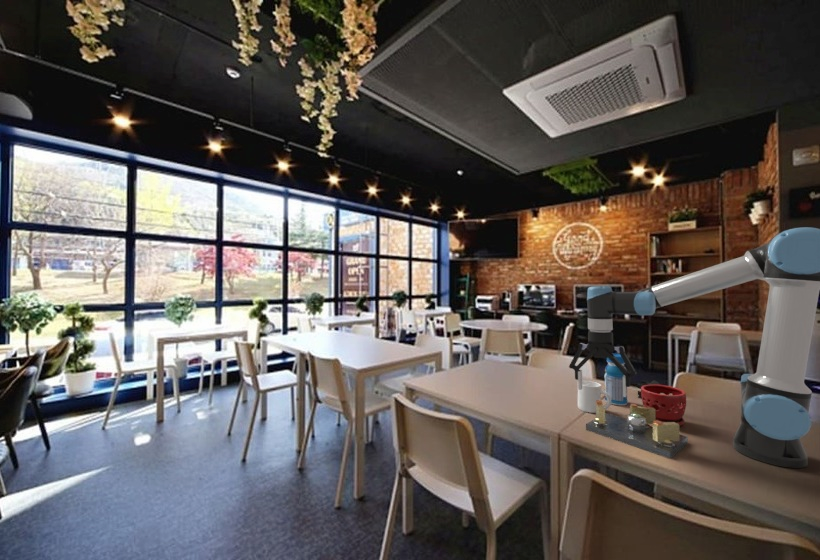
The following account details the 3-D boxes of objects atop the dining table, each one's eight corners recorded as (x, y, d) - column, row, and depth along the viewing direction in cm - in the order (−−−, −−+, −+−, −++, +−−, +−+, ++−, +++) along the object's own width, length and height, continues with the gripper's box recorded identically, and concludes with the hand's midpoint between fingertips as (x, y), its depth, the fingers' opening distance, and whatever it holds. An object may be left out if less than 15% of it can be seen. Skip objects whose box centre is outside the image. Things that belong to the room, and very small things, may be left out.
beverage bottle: (611, 406, 140) (611, 357, 140) (600, 398, 149) (600, 352, 149) (632, 406, 140) (632, 357, 140) (620, 399, 149) (620, 352, 149)
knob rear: (652, 423, 117) (652, 405, 117) (656, 427, 114) (656, 408, 114) (629, 421, 120) (629, 402, 120) (632, 424, 117) (632, 406, 117)
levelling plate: (688, 442, 109) (688, 420, 109) (670, 458, 99) (670, 434, 99) (607, 418, 128) (607, 399, 128) (585, 429, 118) (585, 409, 118)
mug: (614, 412, 133) (614, 386, 133) (606, 418, 128) (606, 390, 128) (582, 404, 142) (583, 379, 142) (574, 409, 137) (574, 383, 137)
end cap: (657, 402, 145) (657, 386, 145) (637, 398, 150) (637, 382, 150) (661, 396, 152) (661, 381, 152) (642, 393, 157) (642, 378, 157)
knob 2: (672, 439, 106) (672, 419, 106) (681, 444, 102) (681, 423, 102) (650, 440, 105) (650, 419, 105) (659, 445, 102) (659, 424, 102)
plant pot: (649, 412, 134) (649, 381, 134) (691, 424, 123) (691, 390, 123) (634, 420, 126) (634, 387, 126) (677, 433, 115) (677, 397, 115)
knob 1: (607, 426, 115) (607, 407, 115) (596, 425, 116) (596, 406, 116) (603, 418, 122) (603, 400, 122) (593, 417, 123) (593, 399, 123)
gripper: (644, 332, 114) (646, 396, 114) (564, 327, 130) (566, 384, 129) (642, 334, 108) (644, 402, 108) (559, 329, 124) (560, 388, 123)
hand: (601, 392), depth 119 cm, fingers open, 13 cm apart
